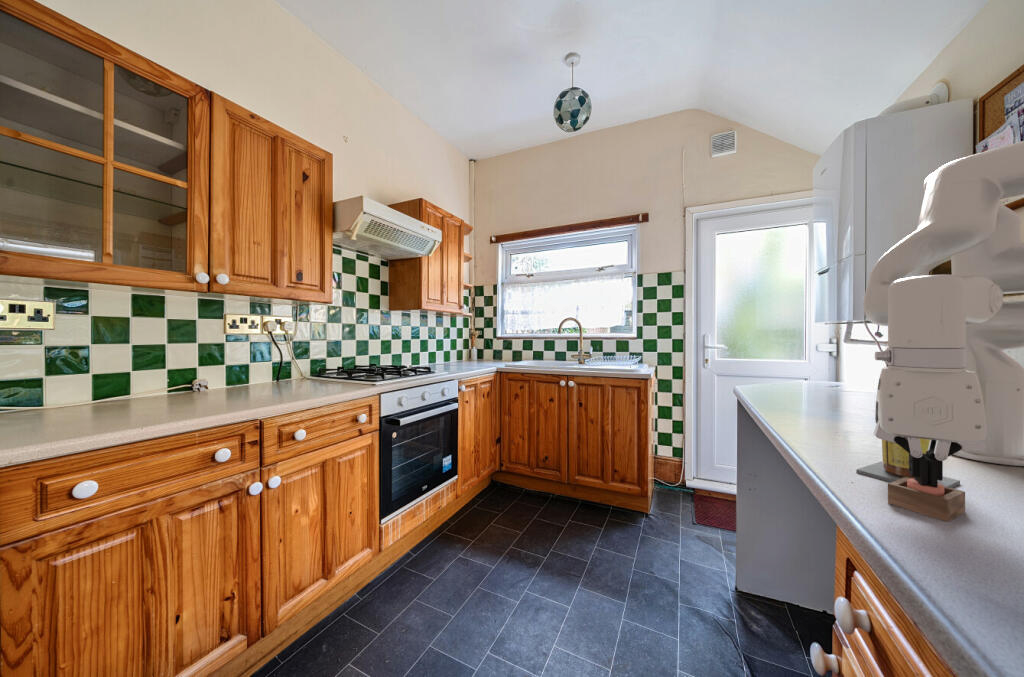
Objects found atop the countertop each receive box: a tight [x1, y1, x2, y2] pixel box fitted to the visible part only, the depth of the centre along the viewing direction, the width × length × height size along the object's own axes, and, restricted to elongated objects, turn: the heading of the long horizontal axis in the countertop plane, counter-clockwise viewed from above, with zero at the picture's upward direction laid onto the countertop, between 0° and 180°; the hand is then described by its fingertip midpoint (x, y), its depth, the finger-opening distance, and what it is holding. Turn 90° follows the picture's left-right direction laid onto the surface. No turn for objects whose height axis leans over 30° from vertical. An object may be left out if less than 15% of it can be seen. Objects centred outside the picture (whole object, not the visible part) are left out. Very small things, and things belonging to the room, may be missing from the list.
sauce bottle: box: [881, 363, 930, 478], centre depth 63 cm, size 6×6×20 cm
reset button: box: [907, 478, 944, 497], centre depth 53 cm, size 4×4×2 cm
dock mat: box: [855, 461, 961, 489], centre depth 63 cm, size 9×10×1 cm
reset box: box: [887, 477, 966, 523], centre depth 53 cm, size 6×6×3 cm
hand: (925, 482), depth 53 cm, fingers closed
